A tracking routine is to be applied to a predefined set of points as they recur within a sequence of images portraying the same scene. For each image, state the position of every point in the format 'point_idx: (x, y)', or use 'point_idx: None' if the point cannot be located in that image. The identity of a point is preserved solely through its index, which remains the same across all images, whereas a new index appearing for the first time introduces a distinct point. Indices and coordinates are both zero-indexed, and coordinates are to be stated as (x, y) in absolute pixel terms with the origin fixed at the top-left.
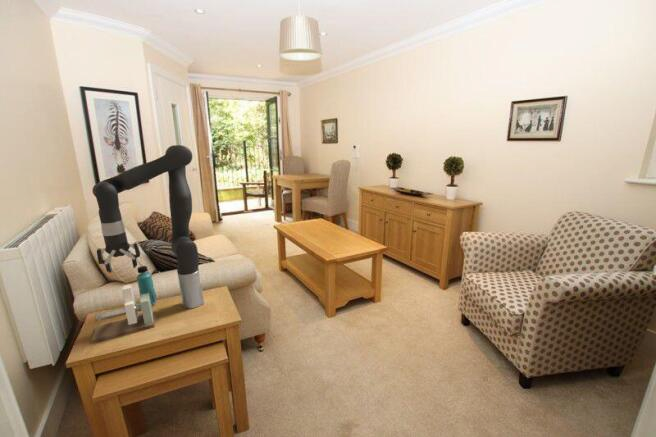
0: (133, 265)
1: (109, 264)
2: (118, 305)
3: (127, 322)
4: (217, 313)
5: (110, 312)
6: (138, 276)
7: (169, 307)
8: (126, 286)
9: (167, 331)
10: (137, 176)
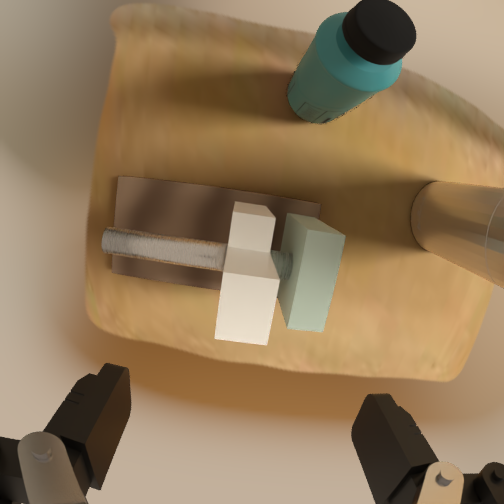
0: (362, 454)
1: (99, 470)
2: (201, 22)
3: (219, 223)
4: (453, 328)
5: (156, 256)
6: (333, 51)
7: (372, 179)
8: (244, 300)
9: (325, 346)
10: None
